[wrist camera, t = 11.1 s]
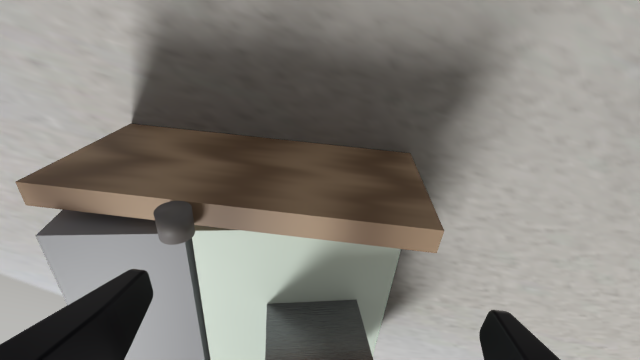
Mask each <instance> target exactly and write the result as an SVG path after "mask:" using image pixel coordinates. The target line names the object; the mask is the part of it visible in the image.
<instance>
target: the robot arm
mask: <svg viewBox="0 0 640 360" xmlns="http://www.w3.org/2000/svg"><path fill="white" fill-rule="evenodd" d="M152 299H153V288H152V284H151V281H150V277H149V274H148V272H147V271H146V270H139V269H130V270H128V271H126V272H124V273H122V274H121V275H119V276H117V277H115V278H114V279H112V280H110V281H109V282H107V283H105V284H103V285H102V286H100V287H98V288H97V289H95V290H93V291H91V292H90V293H88V294H86V295H85V296H83V297H81V298H79V299H78V300H76V301H74V302H72V303H71V304H69V305H67V306H66V307H64V308H62V309H61V310H59V311H57V312H55V313H54V314H52V315H50V316H48V317H47V318H45V319H43V320H42V321H40V322H38V323H36V324H35V325H33V326H31V327H30V328H28V329H26V330H24V331H23V332H21V333H19V334H18V335H16V336H14V337H12V338H11V339H9V340H7V341H6V342H4V343H2V344H0V360H124V359H125V357H126V355H127V353H128V351H129V349H130V347H131V345H132V343H133V340H134V338H135V336H136V334H137V332H138V330H139V328H140V325H141V323H142V321H143V319H144V317H145V315H146V312H147V310H148V308H149V306H150V304H151V302H152ZM480 342H481V347H482V352H483V356H484V360H560V359H559V358H558V357H557V356H556V355H555V354H554V353H553V352H551V351H550V350H549V349H548V348H547V347H546V346H545V345H544V344H543V343H542V342H541V341H540V340H538V339H537V338H536V337H535V336H534V335H533V334H532V333H531V332H530V331H529V330H528V329H527V328H526V327H524V326H523V325H522V324H521V323H520V322H519V321H518V320H517V319H516V318H515V317H514V316H513V315H511V314H510V313H509V312H506V311H499V310H491V311H490V312H489V313H488V315H487V317H486V319H485V321H484V323H483V325H482V327H481V329H480Z"/></svg>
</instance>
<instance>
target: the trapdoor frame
mask: <svg viewBox="0 0 640 360" xmlns="http://www.w3.org/2000/svg"><path fill="white" fill-rule="evenodd" d="M16 184H17V187H18V189H19V191H20V193H21V195H22V198H23V200H24V202H25V204H26V205H29V206H37V207H46V208H55V209H63V210H72V211H80V212H89V213H97V214H106V215H114V216H123V217H132V218H140V219H149V220H155V223H156V227H157V232H158V237H159V240H160V241H161V242H162V243H164V244H168V245H176V244H181V243H184V242H186V241H188V240H190V239H191V238H192V237H193V236H194V234H195V226H194V225H200V226H209V227H217V228H226V229H234V230H243V231H252V232H260V233H269V234H277V235H286V236H294V237H303V238H311V239H320V240H329V241H337V242H346V243H354V244H363V245H371V246H380V247H389V248H397V249H406V250H414V251H423V252H431V253H437V250H438V247H439V244H440V241H441V239H442V236H443V233H444V229H443V227H442V225H441V222H440V220H439V218H438V216H437V213H436V211H435V209H434V206H433V204H432V202H431V200H430V197H429V195H428V193H427V190H426V188H425V186H424V184H423V181H422V179H421V177H420V174H419V172H418V170H417V168H416V165H415V163H414V161H413V158H412V156H411V154H410V153H403V152H394V151H384V150H375V149H365V148H356V147H346V146H337V145H328V144H318V143H309V142H299V141H290V140H280V139H271V138H261V137H252V136H242V135H233V134H224V133H214V132H205V131H195V130H186V129H176V128H167V127H157V126H148V125H139V124H129V125H127V126H125V127H123V128H121V129H119V130H117V131H115V132H113V133H111V134H109V135H107V136H105V137H103V138H101V139H99V140H97V141H95V142H93V143H91V144H90V145H88V146H86V147H84V148H82V149H80V150H78V151H76V152H74V153H72V154H70V155H68V156H66V157H64V158H62V159H60V160H58V161H56V162H54V163H52V164H50V165H48V166H46V167H44V168H42V169H40V170H38V171H36V172H34V173H32V174H30V175H28V176H26V177H24V178H22V179H20V180H18V181H16Z"/></svg>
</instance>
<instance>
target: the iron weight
mask: <svg viewBox="0 0 640 360" xmlns="http://www.w3.org/2000/svg"><path fill="white" fill-rule="evenodd" d="M265 360H373V357H372V353H371V350H370V346H369V343H368V339H367V335H366V332H365V328H364V325H363V321H362V317H361V314H360V310H359V306H358V303H357V300H336V301H315V302H294V303H273V304H267V315H266V348H265Z"/></svg>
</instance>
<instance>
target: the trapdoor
mask: <svg viewBox="0 0 640 360" xmlns="http://www.w3.org/2000/svg"><path fill="white" fill-rule="evenodd" d="M194 226H195V234H194V236H193V237H192V238H191V239H190V240H188V241H186V242H184V243H181V244H176V245H168V244H164V243H162V242H161V241H160V240H159V237H158V232H157V227H156V223H155V220H149V219H140V218H132V217H123V216H114V215H106V214H97V213H89V212H80V211H72V210H62V211H61V212H60V213H59V214H58V215H57V216H56V217H55V218H54V219H53V220H52V221H51V222H49V223H48V224H47V225H46V226H45V227H44V228H43V229H42V230H41V231H40V232H39V233H38V234H37V235H36V238H37V240H38V242H39V244H40V247H41V249H42V251H43V253H44V255H45V257H46V260H47V262H48V264H49V266H50V268H51V271H52V273H53V275H54V277H55V279H56V281H57V284H58V286H59V288H60V290H61V292H62V295H63V297H64V299H65V301H66V303H67V305H69V304H71V303H72V302H74V301H76V300H78V299H79V298H81V297H83V296H85V295H86V294H88V293H90V292H91V291H93V290H95V289H97V288H98V287H100V286H102V285H103V284H105V283H107V282H109V281H110V280H112V279H114V278H115V277H117V276H119V275H121V274H122V273H124V272H126V271H128V270H130V269H139V270H146V271H147V272H148V274H149V277H150V281H151V284H152V288H153V299H152V302H151V304H150V306H149V308H148V310H147V312H146V315H145V317H144V319H143V321H142V323H141V325H140V328H139V330H138V332H137V334H136V336H135V338H134V340H133V343H132V345H131V347H130V349H129V351H128V353H127V355H126V357H125V359H124V360H265V348H266V315H267V304H273V303H294V302H315V301H336V300H357V303H358V306H359V310H360V314H361V317H362V321H363V325H364V328H365V332H366V335H367V339H368V343H369V346H370V350H371V353H372V357H373V353H374V349H375V345H376V342H377V338H378V334H379V331H380V327H381V323H382V319H383V316H384V312H385V308H386V304H387V301H388V297H389V293H390V289H391V286H392V282H393V278H394V274H395V271H396V267H397V263H398V259H399V256H400V252H401V249H397V248H389V247H380V246H371V245H363V244H354V243H346V242H337V241H329V240H320V239H311V238H303V237H294V236H286V235H277V234H269V233H260V232H252V231H243V230H234V229H226V228H217V227H209V226H200V225H194Z"/></svg>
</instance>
